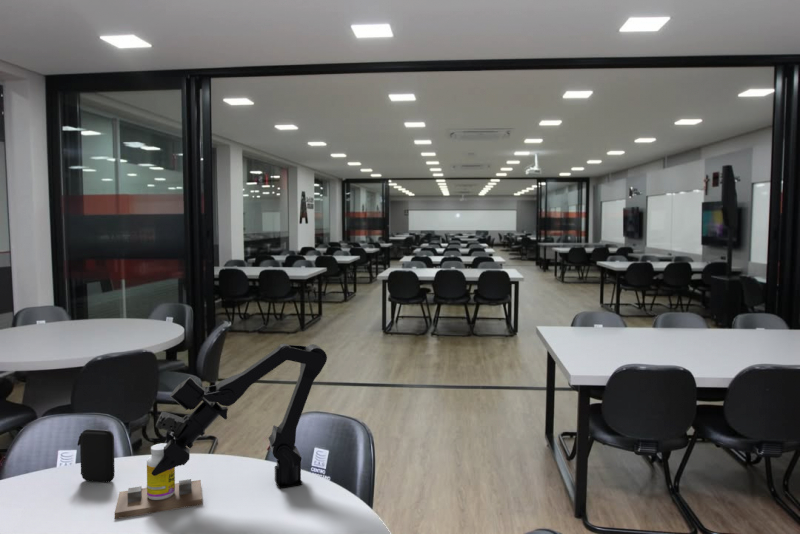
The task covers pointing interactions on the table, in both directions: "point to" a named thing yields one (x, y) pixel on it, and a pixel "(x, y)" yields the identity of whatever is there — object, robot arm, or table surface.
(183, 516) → the table surface
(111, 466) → the carrying case or bag
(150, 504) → the board
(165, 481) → the supplement bottle
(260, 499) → the table surface
